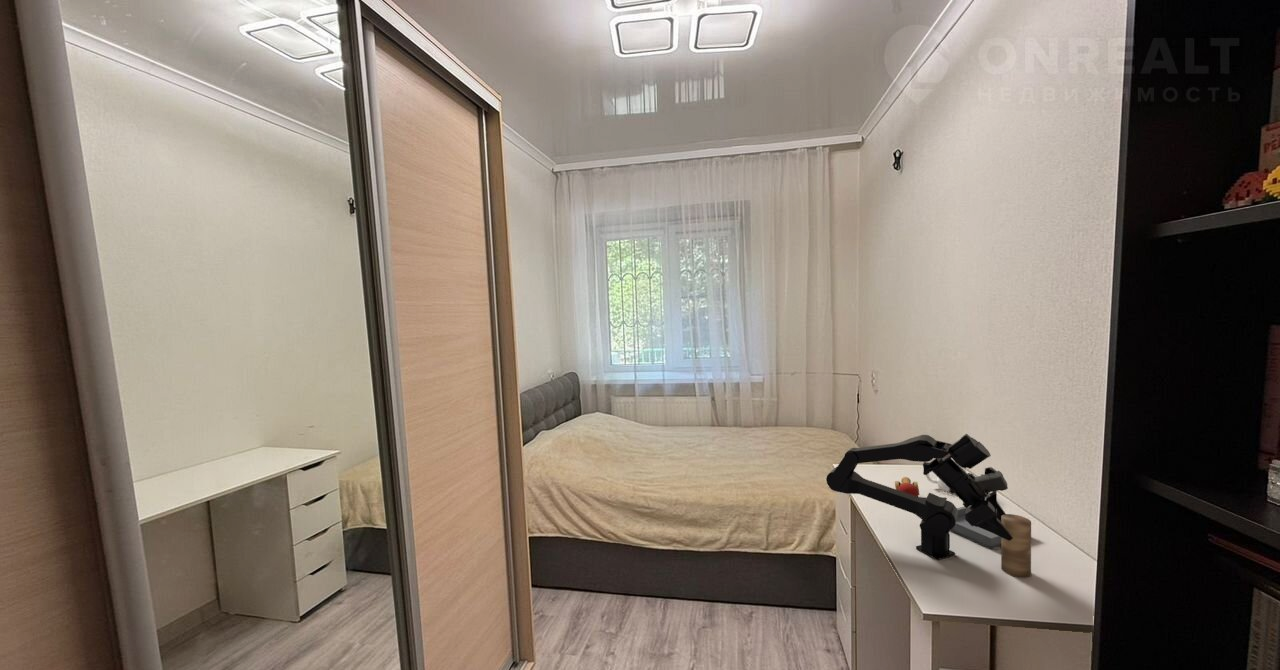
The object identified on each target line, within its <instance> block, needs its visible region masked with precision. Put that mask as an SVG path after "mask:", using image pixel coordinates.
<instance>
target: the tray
mask: <svg viewBox="0 0 1280 670" xmlns="http://www.w3.org/2000/svg"><path fill="white" fill-rule="evenodd" d="M970 506H971V505H970ZM970 506H969V507H970ZM969 507H967V508H969ZM956 508H957V510H958V517H957V521H956V524H955V526H954V527H953V528H952V529H950V530H949V532H952V533H954V534H956V535H959V536H960V537H962V538H965V539H967V540H968V541H969V540H970V541H972V542H974V543H976V544H979V545H981V546H983V547H985V548H987V549H990V550H994V549H997V548H1000V547H1001V537H1000V536H998V535H996V534H993V533H991V532H989V531H987V530H984V529H982V528H980V527H975V526H971V525H970V524H969V523H968V522H967V521H966V520H965V512H966V509H967V508H966V507H965V506H964V505H963V506H960V507H956ZM999 521H1000V520H999ZM1000 522H1001V521H1000Z"/></svg>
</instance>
